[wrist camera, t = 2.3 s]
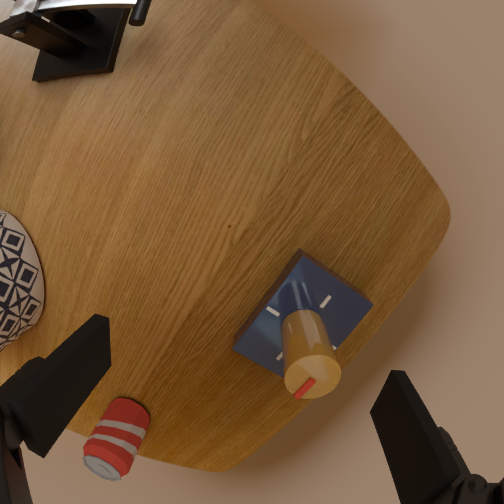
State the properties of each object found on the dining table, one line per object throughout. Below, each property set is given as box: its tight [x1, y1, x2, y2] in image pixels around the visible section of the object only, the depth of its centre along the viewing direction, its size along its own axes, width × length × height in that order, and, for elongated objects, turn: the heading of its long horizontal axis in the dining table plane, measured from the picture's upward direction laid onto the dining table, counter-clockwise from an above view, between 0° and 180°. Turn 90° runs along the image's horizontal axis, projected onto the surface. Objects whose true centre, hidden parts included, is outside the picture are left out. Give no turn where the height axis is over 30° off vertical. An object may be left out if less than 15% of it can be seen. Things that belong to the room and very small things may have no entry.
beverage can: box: [83, 398, 150, 481], centre depth 31 cm, size 6×6×12 cm
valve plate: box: [232, 248, 373, 378], centre depth 31 cm, size 12×9×3 cm
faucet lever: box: [9, 0, 152, 26], centre depth 16 cm, size 14×5×2 cm, turn 82°
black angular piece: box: [0, 0, 131, 82], centre depth 19 cm, size 12×10×13 cm
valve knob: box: [281, 310, 341, 399], centre depth 25 cm, size 4×4×8 cm
